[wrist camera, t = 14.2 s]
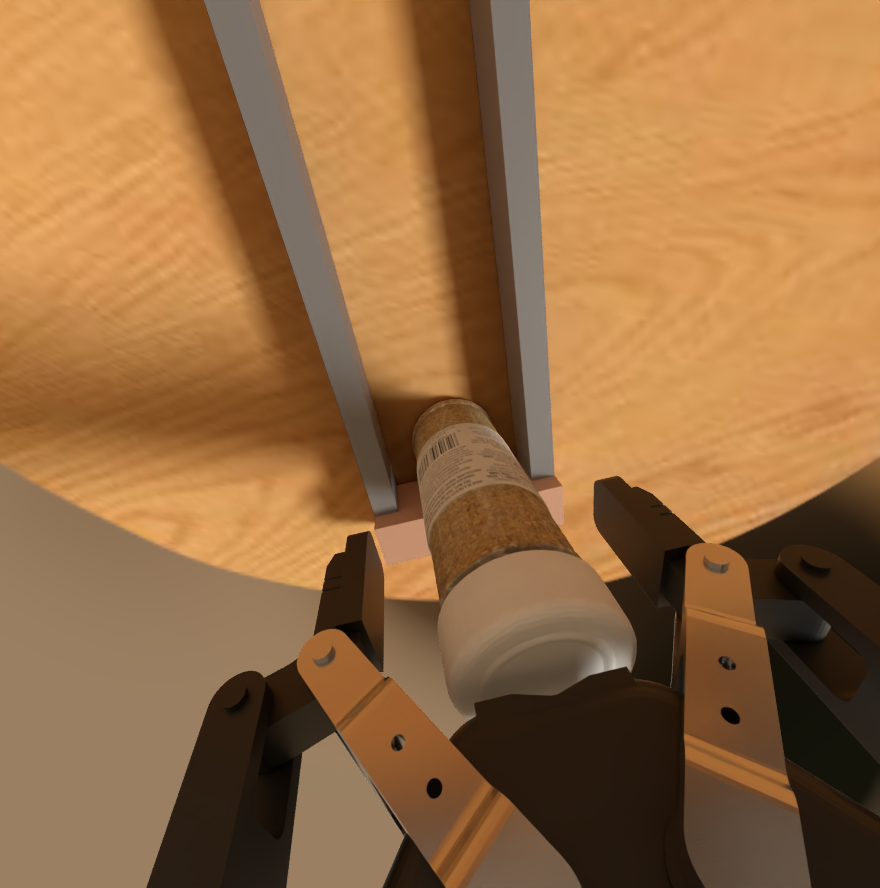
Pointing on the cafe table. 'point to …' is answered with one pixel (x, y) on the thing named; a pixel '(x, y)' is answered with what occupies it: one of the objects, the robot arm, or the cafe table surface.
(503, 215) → the guide channel
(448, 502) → the sprinkles bottle
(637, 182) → the cafe table surface
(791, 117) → the cafe table surface
